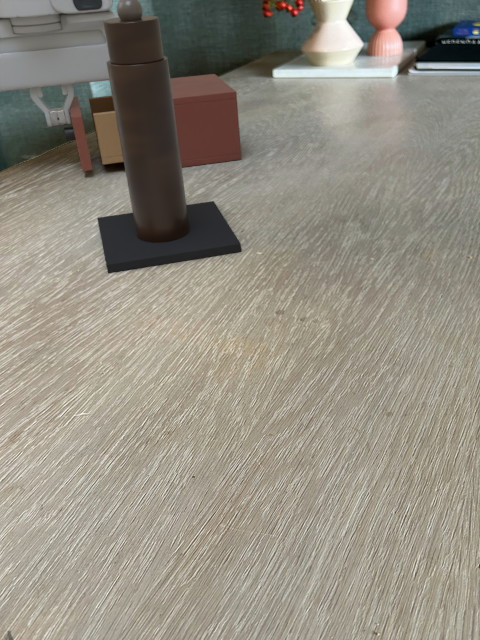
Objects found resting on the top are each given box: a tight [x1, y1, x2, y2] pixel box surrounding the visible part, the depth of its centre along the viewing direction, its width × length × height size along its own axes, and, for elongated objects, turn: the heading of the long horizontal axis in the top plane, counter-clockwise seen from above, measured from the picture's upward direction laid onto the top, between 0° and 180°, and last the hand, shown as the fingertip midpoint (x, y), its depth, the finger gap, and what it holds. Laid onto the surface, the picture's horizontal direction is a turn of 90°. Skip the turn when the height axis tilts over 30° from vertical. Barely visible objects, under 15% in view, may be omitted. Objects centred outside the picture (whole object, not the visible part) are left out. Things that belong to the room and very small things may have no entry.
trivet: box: [97, 200, 242, 274], centre depth 64 cm, size 12×12×1 cm
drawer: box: [63, 95, 124, 172], centre depth 84 cm, size 14×11×6 cm
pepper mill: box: [103, 0, 190, 243], centre depth 58 cm, size 5×5×20 cm
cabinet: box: [170, 73, 242, 168], centre depth 86 cm, size 14×13×8 cm
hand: (59, 124), depth 82 cm, fingers closed
